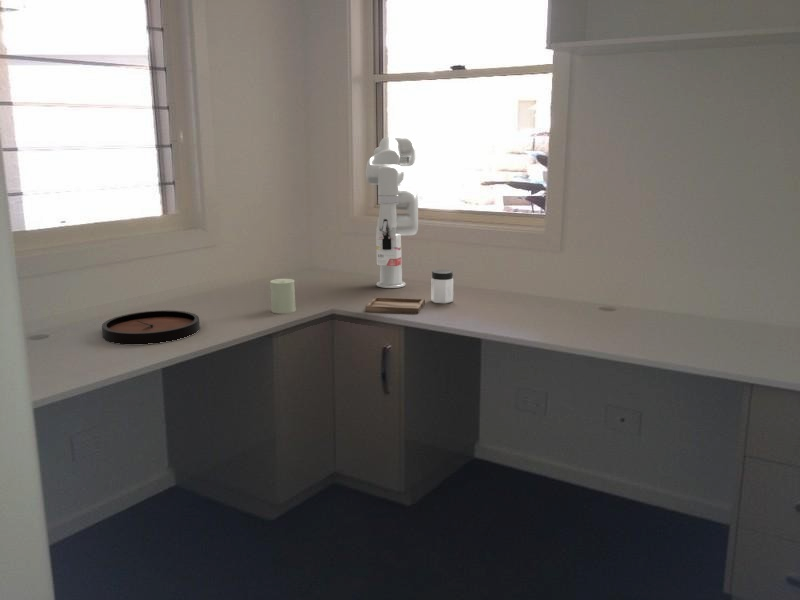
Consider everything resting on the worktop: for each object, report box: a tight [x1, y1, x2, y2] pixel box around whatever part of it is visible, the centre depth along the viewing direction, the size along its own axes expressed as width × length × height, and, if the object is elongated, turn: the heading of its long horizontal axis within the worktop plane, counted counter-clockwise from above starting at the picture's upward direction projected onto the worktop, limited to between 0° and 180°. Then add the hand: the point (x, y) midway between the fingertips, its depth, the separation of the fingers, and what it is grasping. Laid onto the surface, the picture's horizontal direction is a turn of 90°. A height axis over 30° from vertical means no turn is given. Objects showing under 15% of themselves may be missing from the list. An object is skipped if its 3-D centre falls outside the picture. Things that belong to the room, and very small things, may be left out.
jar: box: [430, 269, 454, 304], centre depth 290 cm, size 9×8×12 cm
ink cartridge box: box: [375, 225, 402, 266], centre depth 275 cm, size 9×5×15 cm, turn 67°
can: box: [269, 278, 297, 315], centre depth 275 cm, size 9×9×12 cm
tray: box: [365, 296, 426, 315], centre depth 280 cm, size 16×20×2 cm
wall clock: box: [101, 309, 201, 345], centre depth 248 cm, size 31×4×31 cm
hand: (388, 247), depth 275 cm, fingers closed on ink cartridge box, 5 cm apart
